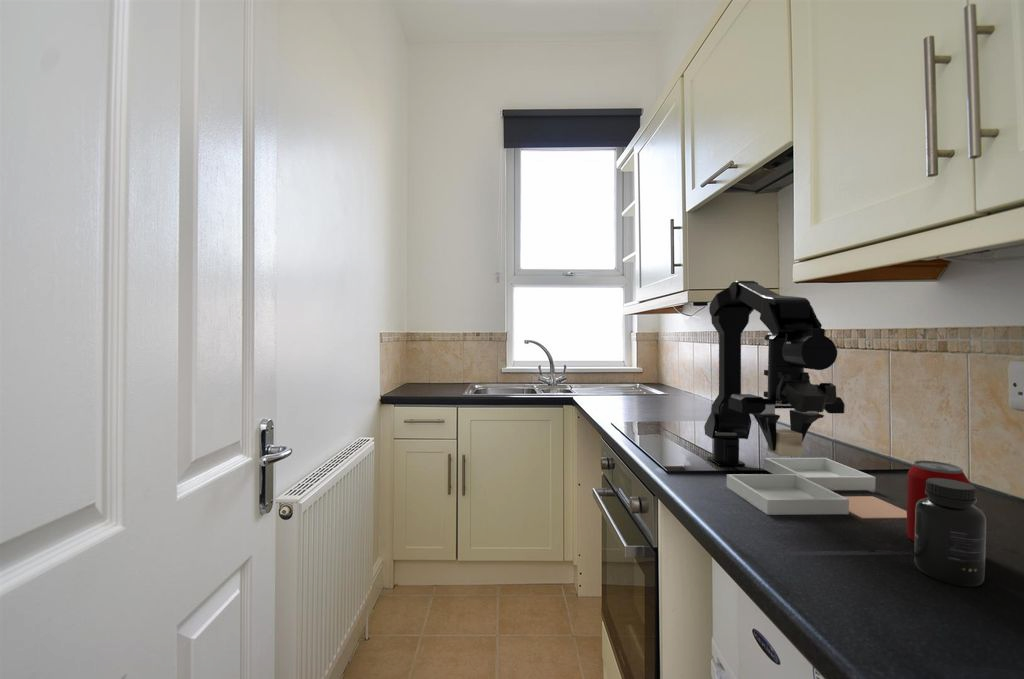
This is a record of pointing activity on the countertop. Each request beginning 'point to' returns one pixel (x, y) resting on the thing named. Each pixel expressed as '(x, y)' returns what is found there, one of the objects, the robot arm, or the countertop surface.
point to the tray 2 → (822, 473)
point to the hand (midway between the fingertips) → (784, 450)
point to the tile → (874, 508)
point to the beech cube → (787, 443)
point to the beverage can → (918, 485)
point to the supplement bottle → (950, 533)
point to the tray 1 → (786, 494)
